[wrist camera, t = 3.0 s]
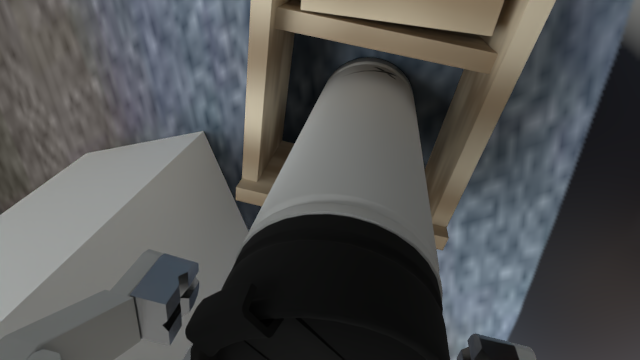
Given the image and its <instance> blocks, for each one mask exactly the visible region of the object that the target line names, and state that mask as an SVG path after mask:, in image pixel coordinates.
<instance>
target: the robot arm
mask: <svg viewBox="0 0 640 360" xmlns="http://www.w3.org/2000/svg"><path fill="white" fill-rule="evenodd" d="M198 272H199V264H198V263H197V262H193V261H190V260H186V259H183V258H179V257H176V256H172V255H169V254H166V253H162V252H158V251H154V250H151V249H148V250H146V251H145V252H143V253H142V254H141V255H140V257H139V258H138V259H137V260H136V261H135V262H134V264H133V265H132V266H131V267H130V268H129V269H128V270H127V272H126V273H125V274H124V275H123V276H122V277H121V278H120V280H119V281H118V282H117V283H116V284H115V285H114V286H113V288H112V289H111V290H110V291H108V290H103V291H101V292H99V293H96V294H94V295H92V296H90V297H88V298H86V299H83V300H81V301H79V302H77V303H75V304H73V305H70V306H68V307H66V308H64V309H62V310H60V311H57V312H55V313H53V314H51V315H49V316H46V317H44V318H42V319H40V320H38V321H36V322H33V323H31V324H29V325H27V326H25V327H23V328H20V329H18V330H16V331H14V332H12V333H10V334H7V335H5V336H4V337H3V338H2V339H1V340H0V360H114V359H116V358H117V357H119V356H120V355H121V354H123V353H124V352H126V351H127V350H129V349H130V348H131V347H133V346H134V345H136V344H137V343H139V342H140V341H141V339H143V340H147V341H151V342H156V343H160V344H164V345H168V346H170V345H171V343H172V342H173V340H174V338H175V337H176V335H177V333H178V331H179V330H180V328H181V326H182V317H183V316H184V315H186V314H188V313H189V312H190V311H191V309H192V307H193V305H194V304H195V301H196V298H197V296H198V291H199V280H198V279H197V278H196V275H197V273H198ZM468 345H469V347H467V348H464V349H462V350H461V351H460V353H459V355H458V356H457V360H537V359H536V357H535V354H534V352H533V351H532V349H531V348H530V347H526V346H522V345H518V344H515V343H510V342H508V341H504V340H500V339H496V338H492V337H488V336H484V335H479V334H473V335H471V336H470V338H469V339H468Z"/></svg>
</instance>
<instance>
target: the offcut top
mask: <svg viewBox="0 0 640 360" xmlns="http://www.w3.org/2000/svg"><path fill="white" fill-rule="evenodd" d="M503 3H504V0H301V10H305V11H313V12H320V13H327V14H334V15H341V16H349V17H356V18H363V19H370V20H377V21H385V22H392V23H399V24H406V25H414V26H421V27H428V28H435V29H442V30H450V31H457V32H464V33H471V34H478V35H486V36H492V34H493V32H494V29H495V26H496V23H497V20H498V17H499V14H500V11H501V9H502V6H503Z"/></svg>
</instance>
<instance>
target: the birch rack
mask: <svg viewBox="0 0 640 360" xmlns="http://www.w3.org/2000/svg"><path fill="white" fill-rule="evenodd" d="M555 1H556V0H504V3H503V6H502V9H501V11H500V14H499V17H498V20H497V23H496V26H495V29H494V32H493V34H492V36H486V35H478V34H471V33H464V32H457V31H450V30H442V29H435V28H428V27H421V26H414V25H406V24H399V23H392V22H385V21H377V20H370V19H363V18H356V17H349V16H341V15H334V14H327V13H320V12H313V11H305V10H301V0H251V10H250V29H249V49H248V69H247V89H246V108H245V128H244V148H243V168H242V179H241V181H240V182H239V184H238V185H237V186H236V200H238V201H242V202H246V203H250V204H254V205H258V206H262V205H263V204H264V202H265V200H266V198H267V196H268V194H269V192H270V190H271V188H272V186H273V184H274V182H275V181H276V179H277V177H278V175H279V173H280V171H281V169H282V167H283V165H284V163H285V161H286V160H287V158H288V156H289V154H290V152H291V150H292V148H293V146H294V144H295V143H290V142H286V141H282V137H283V128H284V120H285V112H286V103H287V95H288V86H289V78H290V69H291V61H292V52H293V44H294V35H295V33H299V34H303V35H308V36H313V37H317V38H322V39H327V40H331V41H336V42H341V43H345V44H350V45H355V46H359V47H364V48H369V49H373V50H378V51H383V52H387V53H392V54H397V55H401V56H406V57H411V58H415V59H420V60H425V61H429V62H434V63H439V64H443V65H448V66H453V67H457V68H462V69H464V70H463V73H462V75H461V78H460V80H459V83H458V86H457V88H456V91H455V93H454V96H453V98H452V101H451V104H450V106H449V109H448V111H447V114H446V116H445V119H444V121H443V124H442V127H441V129H440V132H439V134H438V137H437V139H436V142H435V145H434V147H433V150H432V152H431V155H430V157H429V160H428V162H427V165H426V168H425V177H426V183H427V190H428V197H429V204H430V210H431V217H432V224H433V231H434V237H435V244H436V249H439V250H443V248H444V246H445V244H446V242H447V240H448V233H447V225H448V223H449V221H450V219H451V217H452V215H453V213H454V211H455V209H456V207H457V205H458V202H459V200H460V198H461V196H462V194H463V192H464V190H465V188H466V186H467V184H468V182H469V180H470V178H471V175H472V173H473V171H474V169H475V167H476V165H477V163H478V161H479V159H480V157H481V155H482V153H483V151H484V149H485V146H486V144H487V142H488V140H489V138H490V136H491V134H492V132H493V130H494V128H495V126H496V124H497V122H498V120H499V117H500V115H501V113H502V111H503V109H504V107H505V105H506V103H507V101H508V99H509V97H510V95H511V93H512V91H513V88H514V86H515V84H516V82H517V80H518V78H519V76H520V74H521V72H522V70H523V68H524V66H525V64H526V62H527V59H528V57H529V55H530V53H531V51H532V49H533V47H534V45H535V43H536V41H537V39H538V37H539V35H540V33H541V30H542V28H543V26H544V24H545V22H546V20H547V18H548V16H549V14H550V12H551V10H552V8H553V6H554V4H555Z"/></svg>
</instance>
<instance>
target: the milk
mask: <svg viewBox="0 0 640 360" xmlns="http://www.w3.org/2000/svg"><path fill="white" fill-rule="evenodd" d="M248 233H249V231H248V229H247V227H246V225H245V223H244V220H243V218H242V216H241V214H240V211H239V209H238V207H237V205H236V202H235V200H234V198H233V196H232V194H231V191H230V189H229V187H228V185H227V182H226V180H225V178H224V176H223V174H222V171H221V169H220V167H219V165H218V162H217V160H216V158H215V156H214V154H213V151H212V149H211V147H210V145H209V142H208V140H207V138H206V136H205V134H204V131H201V132H196V133H191V134H185V135H180V136H175V137H170V138H164V139H159V140H154V141H148V142H143V143H138V144H133V145H127V146H122V147H117V148H112V149H106V150H101V151H96V152H90V153H86V154H85V155H83V156H82V157H81V158H79V159H78V160H76V161H75V162H74V163H72V164H71V165H69V166H68V167H67V168H65V169H64V170H62V171H61V172H60V173H58V174H57V175H55V176H54V177H53V178H51V179H50V180H48V181H47V182H46V183H44V184H43V185H42V186H40V187H39V188H37V189H36V190H35V191H33V192H32V193H30V194H29V195H28V196H26V197H25V198H23V199H22V200H21V201H19V202H18V203H16V204H15V205H14V206H12V207H11V208H9V209H8V210H7V211H5V212H4V213H2V214H1V215H0V340H1V339H2V338H3V337H4V336H5V335H7V334H10V333H12V332H14V331H16V330H18V329H20V328H23V327H25V326H27V325H29V324H31V323H33V322H36V321H38V320H40V319H42V318H44V317H46V316H49V315H51V314H53V313H55V312H57V311H60V310H62V309H64V308H66V307H68V306H70V305H73V304H75V303H77V302H79V301H81V300H83V299H86V298H88V297H90V296H92V295H94V294H96V293H99V292H101V291H103V290H108V291H110V290H111V289H112V288H113V286H114V285H115V284H116V283H117V282H118V281H119V280H120V278H121V277H122V276H123V275H124V274H125V273H126V272H127V270H128V269H129V268H130V267H131V266H132V265H133V264H134V262H135V261H136V260H137V259H138V258H139V257H140V255H141V254H142V253H143V252H145V251H146V250H148V249H151V250H154V251H158V252H162V253H166V254H169V255H172V256H176V257H179V258H183V259H186V260H190V261H193V262H197V263H198V264H199V272H198V273H197V275H196V278H197V279H198V280H199V291H198V296H197V298H196V301H195V304H194V305H193V307H192V309H191V311H190V312H189V313H188V314H186V315H184V316H183V317H182V326H181V328H180V330H179V331H178V333H177V335H176V337H175V338H174V340H173V342H172V343H171V345H170V346H168V345H164V344H160V343H156V342H151V341H147V340H143V339H141V341H140V342H139V343H137V344H136V345H134V346H133V347H131V348H130V349H129V350H127V351H126V352H124V353H123V354H121V355H120V356H119V357H117V358H116V359H114V360H183V358H184V356H185V355H186V353H187V351H188V350H189V348H190V346H191V344H192V342H190V341H189V340H188V339H187V338H186V335H185V329H186V326H187V324H188V322H189V321H190V319H191V317H192V315H193V313H194V311H195V309H196V308H197V306H198V305H199V303H200V302H201V301H202V300H203V299H204V298H206V297H208V296H210V295H212V294H214V293H216V292H218V291H221V289H222V287H223V285H224V283H225V281H226V279H227V277H228V275H229V273H230V272H231V270H232V268H233V266H234V264H235V260H236V256H237V254H238V252H239V250H240V248H241V246H242V244H243V242H244V240H245V238H246V236H247V235H248Z"/></svg>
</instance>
